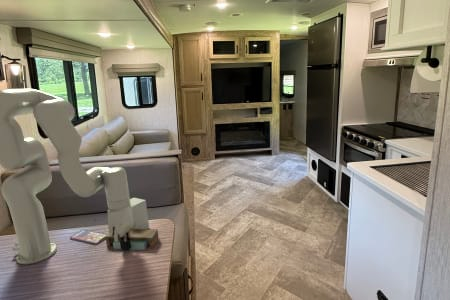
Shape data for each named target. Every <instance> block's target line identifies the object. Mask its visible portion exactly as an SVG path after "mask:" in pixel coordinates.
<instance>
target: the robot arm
mask: <svg viewBox="0 0 450 300" xmlns="http://www.w3.org/2000/svg"><path fill="white" fill-rule="evenodd" d="M75 111H76V110H75V108H74V105H73V104H72V103H70V102H69V101H67V100H66V99H64V98H61V97H58V96H55V95H52V94H50V93H48V92H44V91H41V90H39V89H38V90H37V89H34V88H10V89H2V90H0V167H2V169H4V170H6V171H17V170H20V169H22V168H24V169H23V170H20V171H18V172H16V173H13V174H11V175H10V176H8V177H7V178H5V180H4V181H3V182H2V184H1V188H0V190H1V194H2V196H3V198H4V200H5V202H6V203H7V206H8V209H9V212H10V216H11V219H12V222H13V227H14V232H15V236H16V239H17V241H16V242H15V243H14V246H13V247H12V248H11V249H12V251H14V252H15V251H17V253H18V254H17V256H16V263H18V264H21V265H31V264H36V263H39V262H42V261H44V260H46V259H48V258H49V257H51V256H53V254H55V253H56V251H57V249H58V248H57V244H56V243H54V242H51V238H50V233H49V229H48V224H47V220H46V216H45V210H44V206H43V205H42V202H41V201H40V200H39V199H38V198H37V194H38V193H40V192H42V191H44V190H45V189H46V188H48V187H49V186H50V185H51V183H52V180H53V179H52V178H53V176H52V175H53V174H52V170H51V165H50V161H49V157H48V155H47V150H46V148H45V146H44V145H43V143H42V142H41V141H40V140H39V139H37V138H34V137H25V136H24V132H23V129H22V127H21V125H20V124H19V121H17V120H16V118H15V117H17V116H22V115H24V116H25V115H29V114H30V115H31V114H32V115H33V118H34V119H35V121H36V123H37V124H38V126H39V127H40V128H41V130H42V131H43V132H44V134H45V135H46V137H47V138H48V140H49V141H50V142H51V144H52V145H53V147H54V148H55V150H56V152H57V162H58V166H59V167H58V168H59V171H60V174H61V175H62V177H63V179H64V181H65V182H66V183H67V185H68V186H69V188H70V189H71V190H72V191H73V192H74V194H76V195H77V196H79V197H82V198H88V197H91V196H92V195H94V194H96V193H97V192H99V190H100V189H104V191H105V196H106V202H107V203H106V204H107V208H108V210H107V229H108V233H109V235H110V237H113V236H114V241H115V242H119V241H120V246H121V249H120V250H121V251H130V250H132V249H131V243H130V230H131V228H132V227H133V225H134V217H133V212H132V208H131V203H130V199H131V197H130V190H129V183H128V175H127V172H126V169H125V168H124V167H122V166H114V167H103V166H94V167H91V168H89V169H88V170H85V168H84V167H83V165H82V163H81V159H80V153H79V152H80V149H81V145H82V142H83V141H82V136H81V135H80V133H79V132H78V130H77V129H76V128H75V125H74V124H73V123H72V120H73V119H74V118H75V115H76V114H75V113H76V112H75Z"/></svg>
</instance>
